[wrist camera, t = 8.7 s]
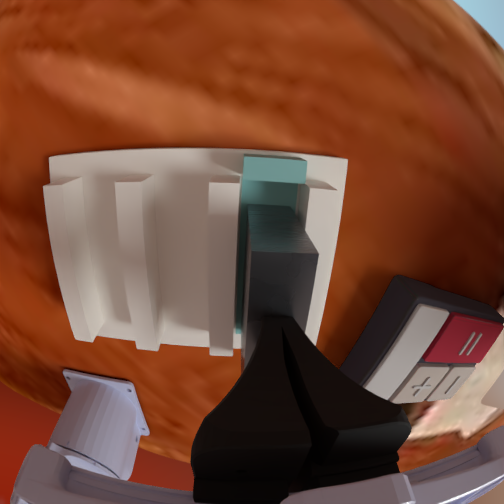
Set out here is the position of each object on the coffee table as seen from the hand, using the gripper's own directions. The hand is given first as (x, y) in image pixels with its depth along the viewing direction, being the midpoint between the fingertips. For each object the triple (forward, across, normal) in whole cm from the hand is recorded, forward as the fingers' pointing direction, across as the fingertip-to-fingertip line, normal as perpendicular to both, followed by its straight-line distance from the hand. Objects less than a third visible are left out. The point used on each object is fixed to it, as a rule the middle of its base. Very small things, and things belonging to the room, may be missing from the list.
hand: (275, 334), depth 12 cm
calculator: (+9, -16, +8) cm, 20 cm away
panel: (+7, 0, +1) cm, 7 cm away
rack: (+8, +5, 0) cm, 9 cm away
